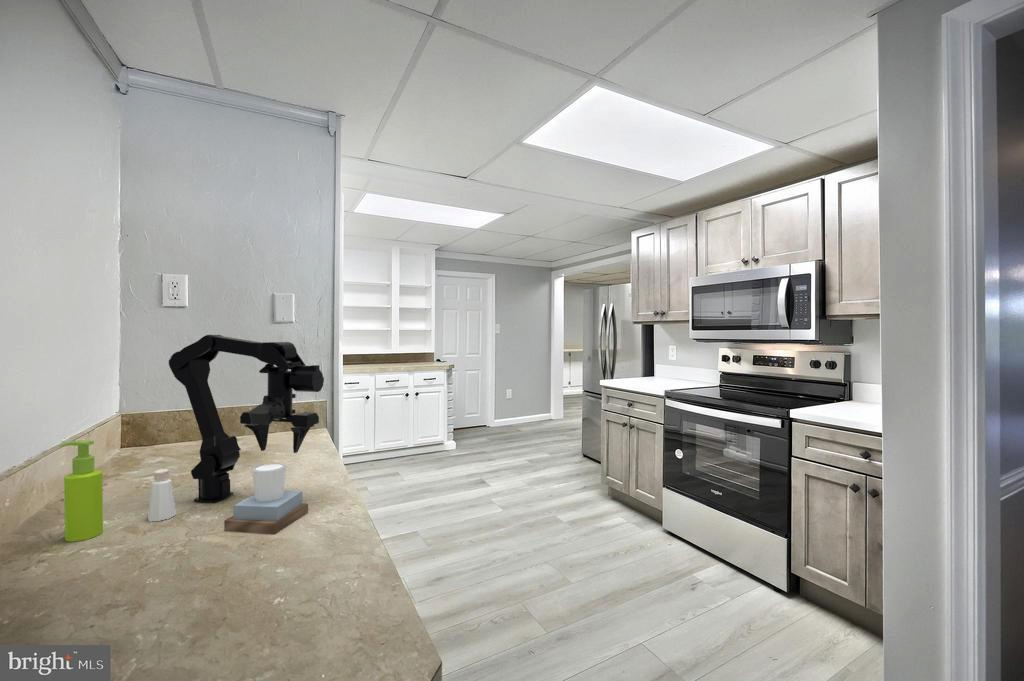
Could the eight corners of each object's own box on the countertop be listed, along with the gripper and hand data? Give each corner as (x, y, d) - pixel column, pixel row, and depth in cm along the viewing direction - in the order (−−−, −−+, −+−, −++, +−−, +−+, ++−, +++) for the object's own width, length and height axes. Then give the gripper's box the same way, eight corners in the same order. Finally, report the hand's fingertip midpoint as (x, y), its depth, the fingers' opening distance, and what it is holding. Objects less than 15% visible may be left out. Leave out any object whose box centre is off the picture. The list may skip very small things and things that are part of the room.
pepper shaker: (181, 514, 108) (181, 468, 108) (157, 523, 103) (157, 474, 103) (165, 511, 110) (165, 466, 110) (141, 520, 105) (140, 472, 104)
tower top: (233, 519, 100) (233, 505, 99) (262, 502, 109) (262, 490, 109) (277, 520, 99) (277, 507, 99) (302, 503, 109) (302, 491, 109)
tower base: (224, 534, 99) (224, 520, 99) (262, 513, 111) (262, 500, 111) (274, 537, 97) (274, 523, 97) (308, 515, 109) (308, 503, 109)
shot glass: (269, 504, 100) (269, 472, 100) (245, 501, 102) (244, 470, 102) (293, 493, 107) (292, 464, 107) (269, 490, 109) (269, 461, 109)
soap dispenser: (76, 530, 99) (75, 438, 99) (110, 529, 100) (109, 438, 100) (51, 542, 93) (50, 445, 93) (87, 541, 94) (86, 444, 94)
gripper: (223, 393, 110) (222, 457, 111) (293, 396, 107) (292, 462, 108) (256, 388, 121) (255, 446, 122) (320, 390, 118) (319, 450, 119)
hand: (279, 451), depth 117 cm, fingers open, 9 cm apart
